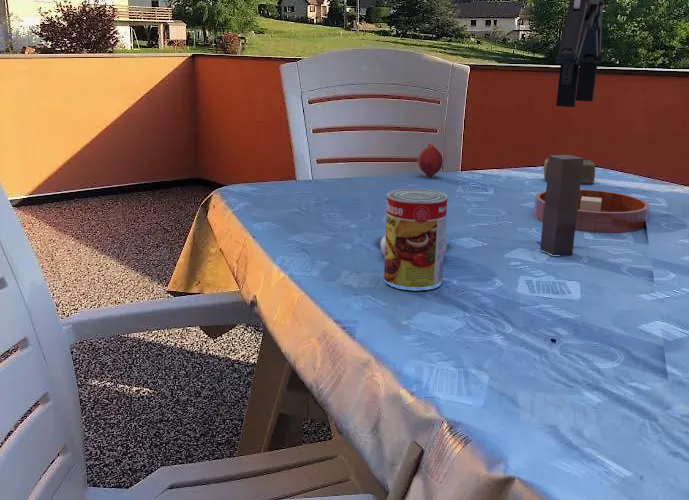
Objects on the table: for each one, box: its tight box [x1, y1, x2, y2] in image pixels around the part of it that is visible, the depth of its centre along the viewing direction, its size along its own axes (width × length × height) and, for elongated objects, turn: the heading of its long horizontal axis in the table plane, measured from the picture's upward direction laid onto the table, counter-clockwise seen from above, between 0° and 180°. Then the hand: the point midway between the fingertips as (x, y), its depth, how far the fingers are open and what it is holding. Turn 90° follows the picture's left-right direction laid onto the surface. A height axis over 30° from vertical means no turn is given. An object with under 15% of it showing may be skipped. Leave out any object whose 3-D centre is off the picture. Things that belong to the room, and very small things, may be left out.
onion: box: [417, 142, 444, 178], centre depth 167 cm, size 6×6×8 cm
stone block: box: [543, 157, 596, 185], centre depth 165 cm, size 6×12×5 cm, turn 80°
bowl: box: [533, 188, 651, 234], centre depth 129 cm, size 20×20×4 cm
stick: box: [539, 154, 584, 256], centre depth 108 cm, size 4×4×15 cm
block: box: [580, 196, 602, 212], centre depth 129 cm, size 4×4×4 cm
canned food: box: [383, 188, 448, 287], centre depth 94 cm, size 8×8×12 cm
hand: (575, 103), depth 116 cm, fingers open, 13 cm apart
